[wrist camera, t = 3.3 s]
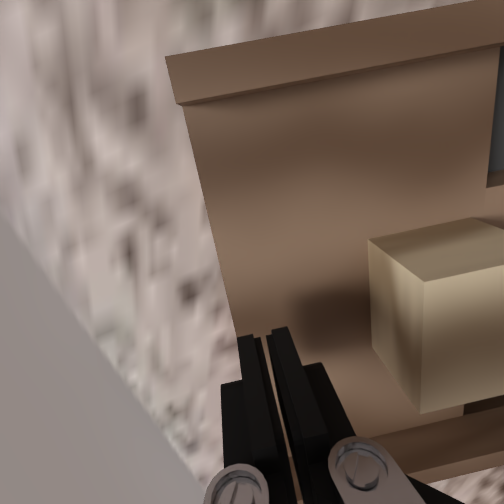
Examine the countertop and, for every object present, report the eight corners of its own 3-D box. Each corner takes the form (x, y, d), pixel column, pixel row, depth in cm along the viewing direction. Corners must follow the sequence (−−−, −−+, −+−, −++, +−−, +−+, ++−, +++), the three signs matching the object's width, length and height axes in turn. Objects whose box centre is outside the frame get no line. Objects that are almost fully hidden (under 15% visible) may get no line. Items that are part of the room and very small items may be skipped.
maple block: (367, 238, 12) (424, 282, 9) (470, 217, 12) (562, 252, 9) (372, 346, 14) (420, 414, 11) (461, 326, 14) (534, 387, 11)
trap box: (179, 76, 11) (165, 56, 8) (767, -32, 12) (1005, -96, 9) (263, 439, 18) (277, 520, 15) (634, 352, 19) (734, 408, 16)
